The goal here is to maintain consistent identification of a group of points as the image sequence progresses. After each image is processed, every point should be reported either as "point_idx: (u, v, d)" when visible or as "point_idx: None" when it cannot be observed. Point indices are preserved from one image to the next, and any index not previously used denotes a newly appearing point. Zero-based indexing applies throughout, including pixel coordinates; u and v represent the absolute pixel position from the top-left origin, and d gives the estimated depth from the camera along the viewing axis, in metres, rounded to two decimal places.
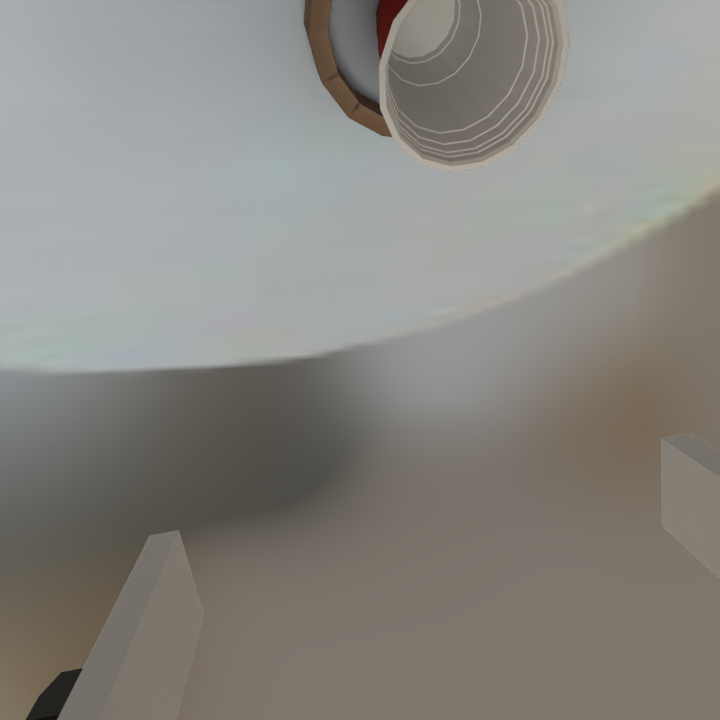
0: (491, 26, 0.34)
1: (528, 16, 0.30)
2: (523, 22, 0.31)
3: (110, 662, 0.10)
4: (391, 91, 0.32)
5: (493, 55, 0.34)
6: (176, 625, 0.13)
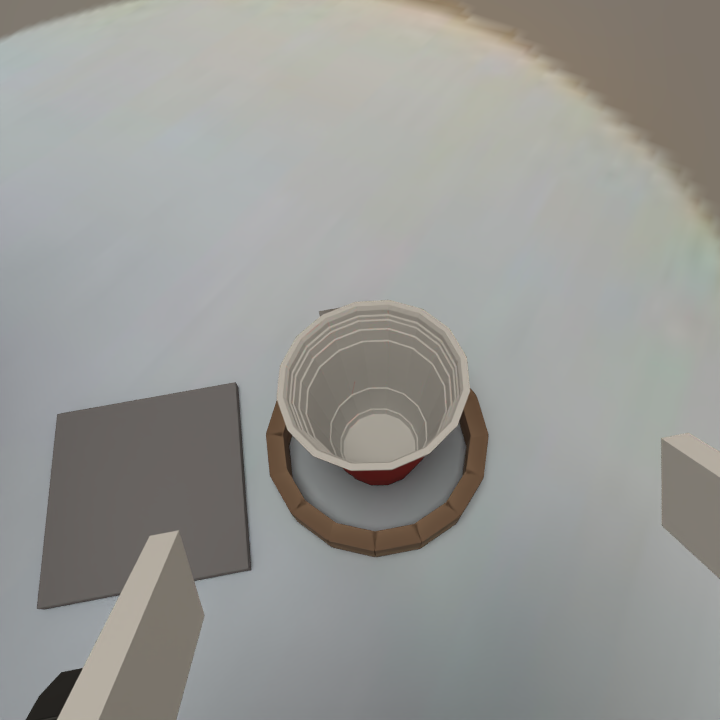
0: (393, 378, 0.37)
1: (370, 335, 0.34)
2: (377, 342, 0.35)
3: (110, 662, 0.10)
4: None
5: (412, 379, 0.36)
6: (176, 625, 0.13)
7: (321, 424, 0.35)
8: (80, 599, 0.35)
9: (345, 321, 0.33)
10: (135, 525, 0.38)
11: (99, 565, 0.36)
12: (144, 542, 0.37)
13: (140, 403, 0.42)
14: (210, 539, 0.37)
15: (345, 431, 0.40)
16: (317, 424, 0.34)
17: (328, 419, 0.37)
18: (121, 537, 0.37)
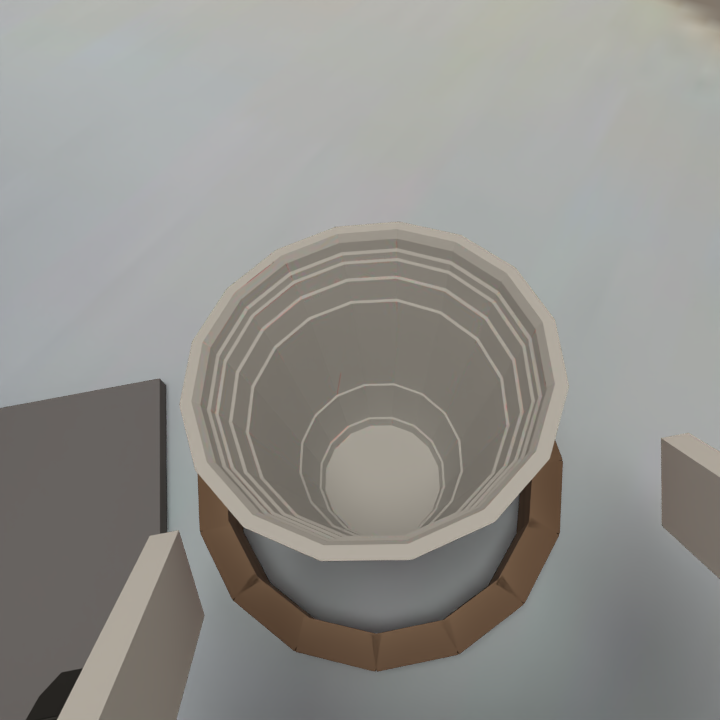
0: (404, 368, 0.23)
1: (364, 290, 0.19)
2: (377, 303, 0.20)
3: (110, 662, 0.10)
4: None
5: (436, 369, 0.21)
6: (176, 625, 0.13)
7: (282, 447, 0.20)
8: None
9: (319, 263, 0.18)
10: None
11: None
12: None
13: (11, 412, 0.27)
14: None
15: (328, 454, 0.25)
16: (273, 448, 0.20)
17: (296, 437, 0.22)
18: None
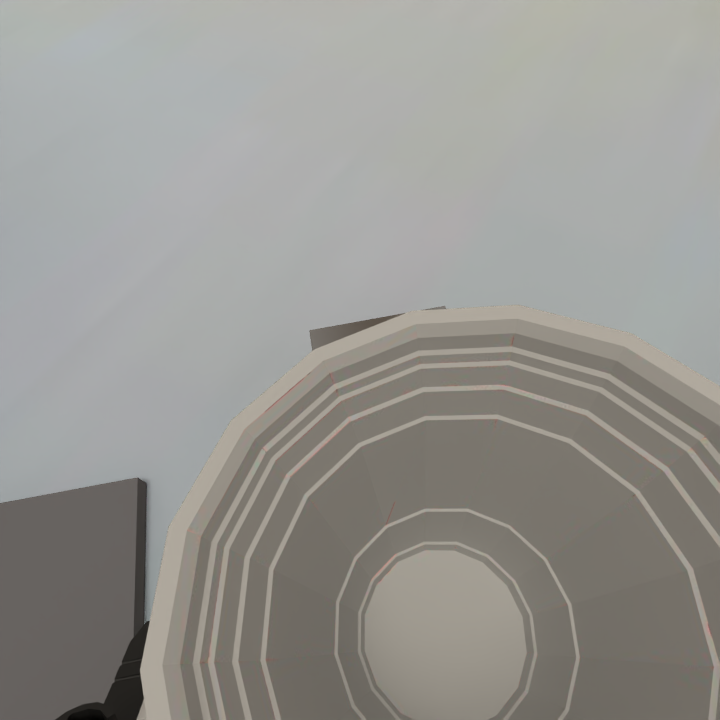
0: (487, 495, 0.15)
1: (448, 403, 0.12)
2: (466, 420, 0.13)
3: None
4: None
5: (543, 506, 0.14)
6: None
7: (312, 636, 0.13)
8: None
9: (382, 368, 0.11)
10: None
11: None
12: None
13: None
14: None
15: (368, 596, 0.18)
16: (301, 650, 0.12)
17: (331, 599, 0.15)
18: None
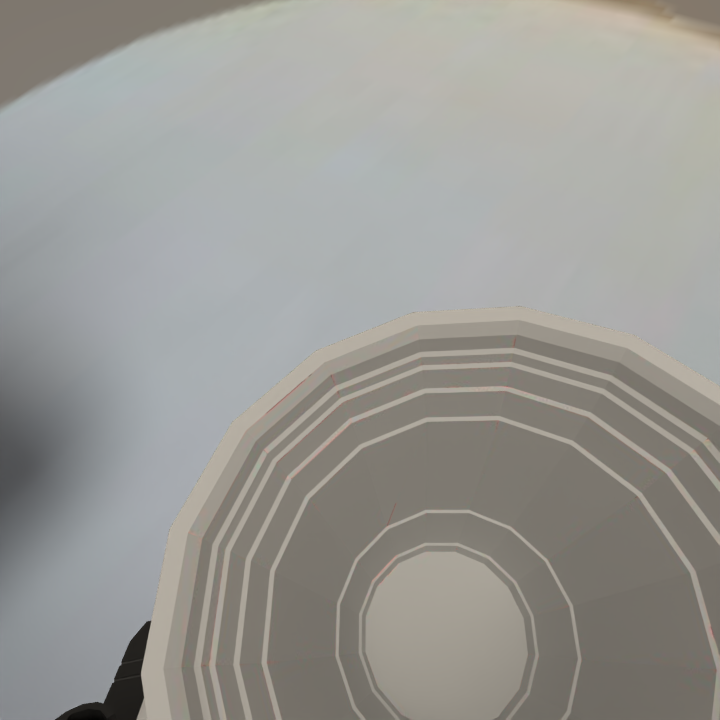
0: (489, 496, 0.15)
1: (449, 405, 0.12)
2: (467, 422, 0.13)
3: None
4: None
5: (545, 508, 0.14)
6: None
7: (313, 638, 0.13)
8: None
9: (384, 370, 0.11)
10: None
11: None
12: None
13: None
14: None
15: (369, 597, 0.18)
16: (302, 652, 0.12)
17: (331, 601, 0.15)
18: None
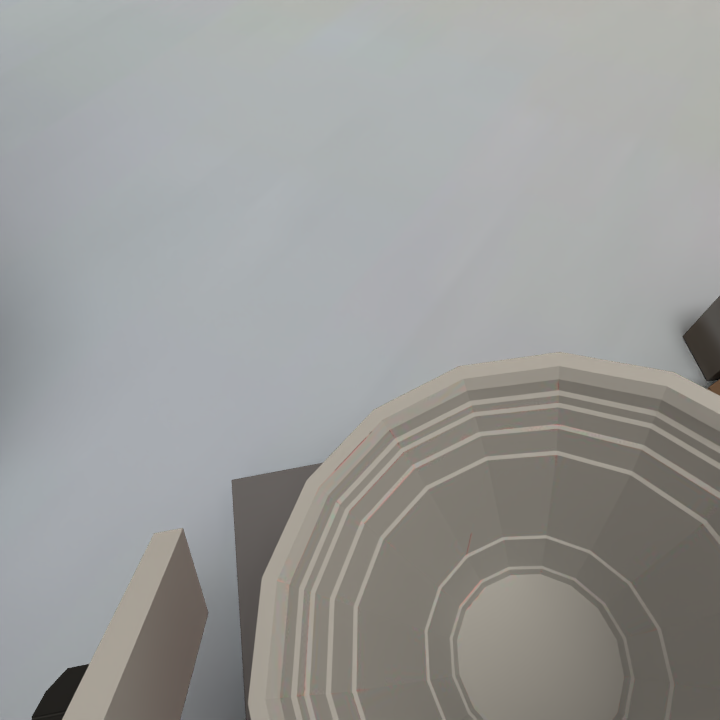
0: (562, 523, 0.16)
1: (506, 444, 0.13)
2: (526, 458, 0.13)
3: (116, 658, 0.10)
4: None
5: (618, 533, 0.14)
6: (181, 622, 0.13)
7: (402, 665, 0.14)
8: None
9: (438, 420, 0.12)
10: None
11: None
12: None
13: None
14: None
15: (458, 622, 0.19)
16: (391, 679, 0.14)
17: (418, 628, 0.16)
18: None
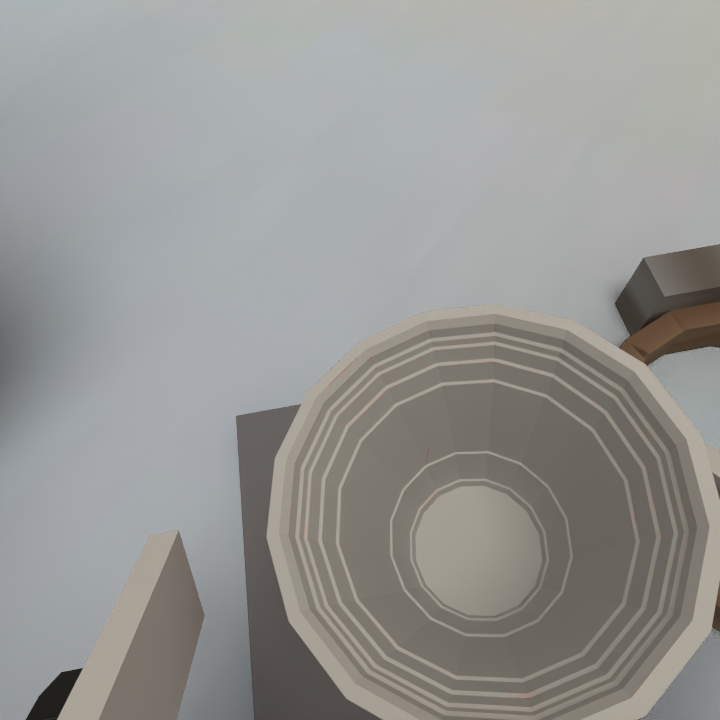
0: (500, 439, 0.20)
1: (456, 373, 0.17)
2: (472, 384, 0.18)
3: (110, 662, 0.10)
4: (479, 674, 0.14)
5: (539, 445, 0.19)
6: (176, 625, 0.13)
7: (372, 538, 0.19)
8: None
9: (406, 352, 0.16)
10: None
11: None
12: None
13: None
14: None
15: (417, 521, 0.24)
16: (363, 545, 0.18)
17: (385, 518, 0.21)
18: None
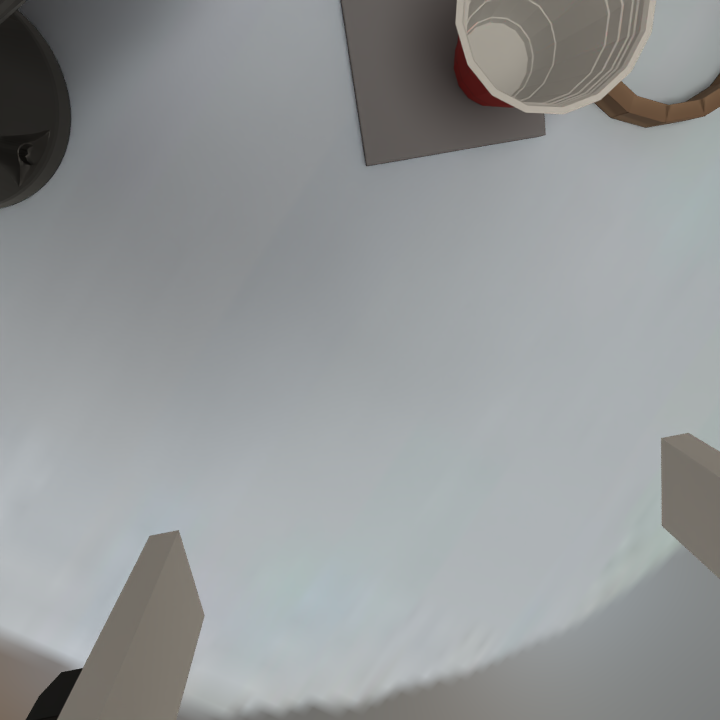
0: None
1: None
2: None
3: (110, 662, 0.10)
4: None
5: None
6: (176, 625, 0.13)
7: None
8: (403, 158, 0.41)
9: None
10: (441, 91, 0.40)
11: (414, 128, 0.41)
12: (452, 108, 0.40)
13: None
14: None
15: None
16: None
17: None
18: (430, 103, 0.40)
